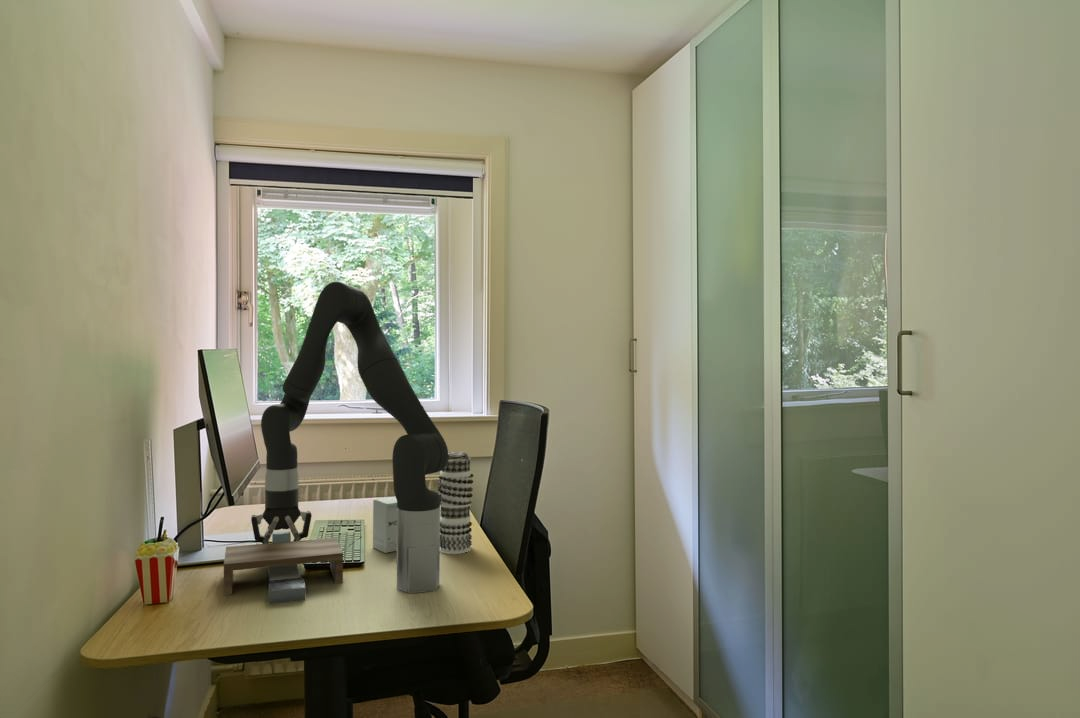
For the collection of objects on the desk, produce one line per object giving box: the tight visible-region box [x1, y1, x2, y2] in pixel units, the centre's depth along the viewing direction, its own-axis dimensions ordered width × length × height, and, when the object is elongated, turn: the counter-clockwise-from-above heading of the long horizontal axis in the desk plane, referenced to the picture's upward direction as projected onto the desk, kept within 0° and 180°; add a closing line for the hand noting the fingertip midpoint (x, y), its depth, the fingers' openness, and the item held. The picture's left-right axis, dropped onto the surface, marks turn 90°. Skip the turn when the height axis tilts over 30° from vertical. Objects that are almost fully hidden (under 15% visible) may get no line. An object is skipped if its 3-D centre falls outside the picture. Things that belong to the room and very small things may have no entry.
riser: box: [223, 537, 344, 596], centre depth 160 cm, size 14×24×6 cm, turn 112°
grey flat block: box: [267, 576, 307, 605], centre depth 148 cm, size 7×7×3 cm
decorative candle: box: [437, 451, 474, 555], centre depth 184 cm, size 9×9×25 cm
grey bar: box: [267, 530, 301, 581], centre depth 163 cm, size 24×6×7 cm, turn 22°
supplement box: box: [372, 496, 397, 554], centre depth 185 cm, size 7×7×13 cm
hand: (281, 556), depth 172 cm, fingers open, 5 cm apart
